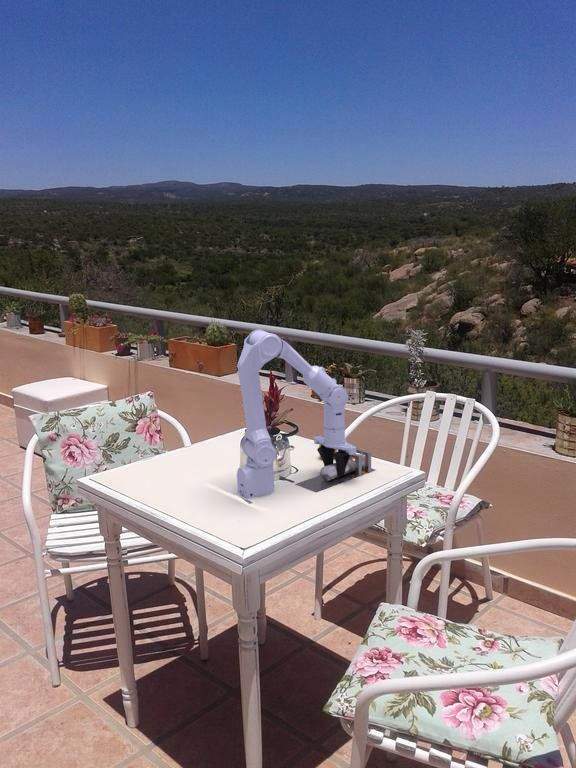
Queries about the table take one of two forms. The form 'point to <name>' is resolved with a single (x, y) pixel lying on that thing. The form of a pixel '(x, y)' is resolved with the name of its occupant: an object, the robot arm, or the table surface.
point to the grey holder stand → (320, 484)
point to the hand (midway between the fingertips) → (335, 473)
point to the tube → (331, 470)
